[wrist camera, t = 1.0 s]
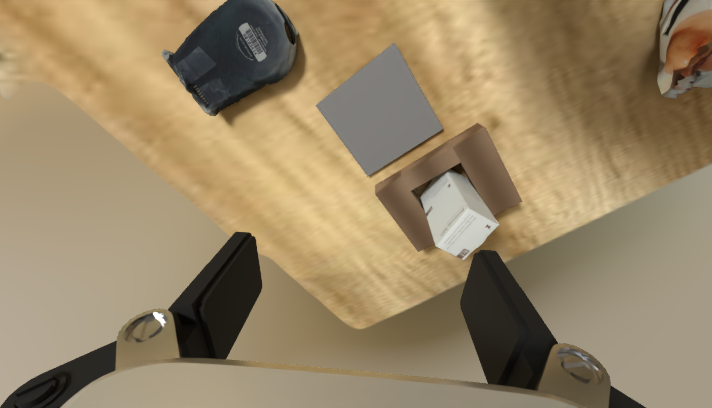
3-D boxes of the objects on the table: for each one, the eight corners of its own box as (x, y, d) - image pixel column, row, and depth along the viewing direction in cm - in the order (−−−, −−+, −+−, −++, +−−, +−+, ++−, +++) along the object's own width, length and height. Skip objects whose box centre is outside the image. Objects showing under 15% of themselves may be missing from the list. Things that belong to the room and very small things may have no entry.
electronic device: (231, 117, 39) (313, 61, 33) (202, 123, 34) (291, 58, 28) (192, 53, 36) (272, -21, 30) (154, 49, 32) (241, -40, 26)
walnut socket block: (477, 122, 35) (485, 128, 32) (512, 192, 39) (522, 201, 37) (375, 185, 40) (375, 194, 38) (415, 240, 45) (418, 251, 42)
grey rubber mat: (394, 42, 32) (394, 42, 31) (442, 127, 36) (443, 128, 35) (316, 104, 36) (315, 105, 35) (367, 175, 40) (367, 176, 39)
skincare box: (442, 164, 38) (467, 204, 27) (468, 178, 39) (503, 223, 28) (418, 197, 41) (432, 246, 30) (443, 210, 42) (465, 262, 31)
